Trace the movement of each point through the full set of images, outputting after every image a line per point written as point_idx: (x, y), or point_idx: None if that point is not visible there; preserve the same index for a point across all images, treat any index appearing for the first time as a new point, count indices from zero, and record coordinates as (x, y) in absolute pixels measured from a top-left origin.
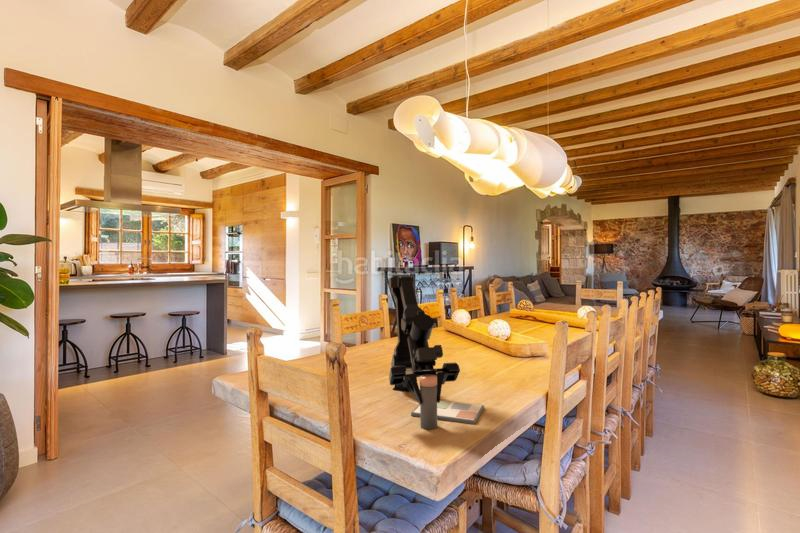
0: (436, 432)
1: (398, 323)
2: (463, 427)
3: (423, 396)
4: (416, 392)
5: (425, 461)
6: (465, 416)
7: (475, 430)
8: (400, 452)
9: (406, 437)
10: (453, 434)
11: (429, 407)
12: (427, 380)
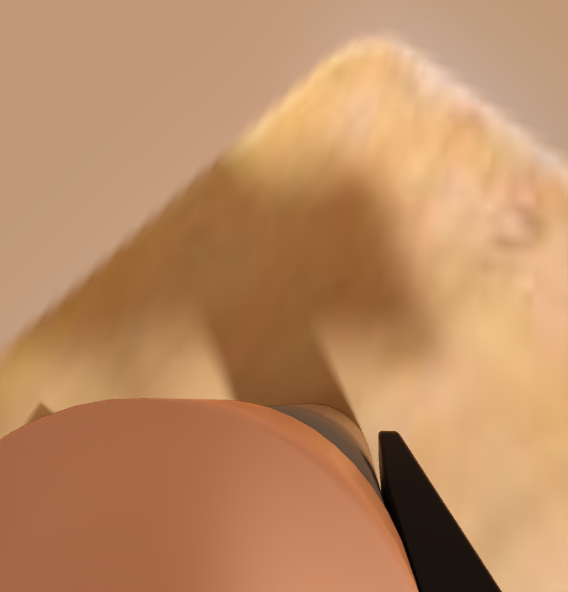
0: (288, 368)
1: None
2: None
3: (356, 452)
4: (470, 543)
5: (414, 71)
6: None
7: (80, 352)
8: (533, 154)
9: (487, 329)
10: (205, 323)
11: (301, 406)
12: (238, 418)
